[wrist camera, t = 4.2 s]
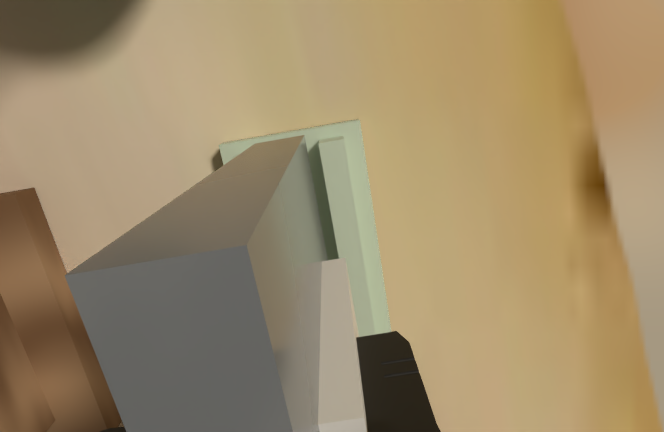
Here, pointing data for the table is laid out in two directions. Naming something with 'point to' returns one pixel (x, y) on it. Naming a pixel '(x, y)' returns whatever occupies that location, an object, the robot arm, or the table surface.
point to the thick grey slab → (215, 302)
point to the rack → (43, 333)
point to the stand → (342, 211)
